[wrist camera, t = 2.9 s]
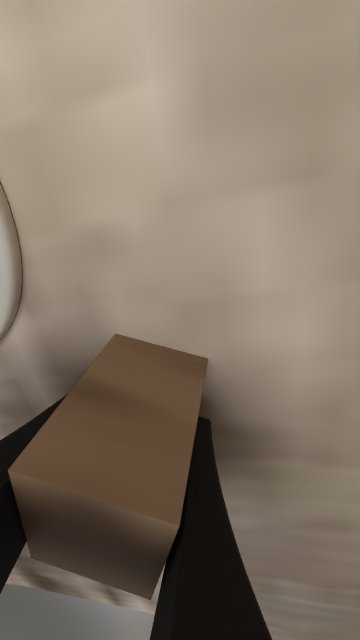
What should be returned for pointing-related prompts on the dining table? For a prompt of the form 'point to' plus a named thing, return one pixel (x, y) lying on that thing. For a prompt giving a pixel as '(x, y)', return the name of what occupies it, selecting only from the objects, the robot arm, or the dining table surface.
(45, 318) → the dining table surface
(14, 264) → the cream plate
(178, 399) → the walnut block
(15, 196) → the dining table surface
